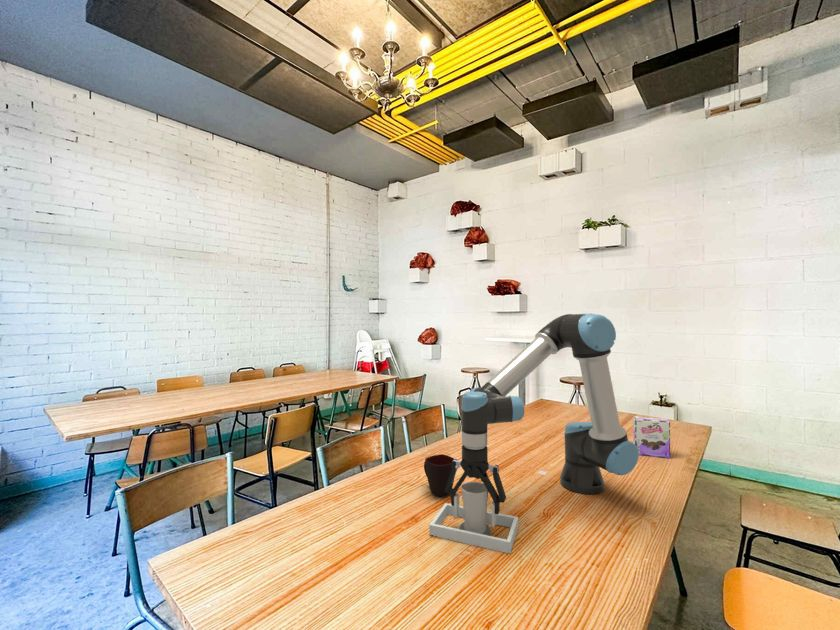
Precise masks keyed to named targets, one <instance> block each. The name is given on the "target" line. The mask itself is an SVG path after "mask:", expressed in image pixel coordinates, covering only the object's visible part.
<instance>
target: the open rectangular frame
mask: <svg viewBox="0 0 840 630" xmlns="http://www.w3.org/2000/svg"><path fill="white" fill-rule="evenodd" d="M447 516H453V517H454V506H452V505H451V503H447V502H445V503H444V504H443V505H442V507H441V508H440V509H439V511H438V512H437V514H436V515H435V516H434V518H433V519H432V521H431V522H430V523H429V524H428V525H429V528H428V529H429V535H428V536H431V535H433V536H432V537H435V536H438V537H437V538H439V537H441V538H440V539H444V538H445V539H444V540H448V539H449V540H448V541H453V542H457V541H458V542H457V543H461V542H462V543H461V544H465V543H466V545H470V544H471V546H474V545H475V547H478V546H479V548H484V549H487V550H492V551H495V552H496V551H498V552H500V553H506V554H508V555H509V554H511V552H512V549H513V546H514V542H515V539H516V536H517V533H518V530H519V517H518V516H515V515H508V514H505V513H504V514H503V513H500V512H499V514H496V524H495V526H502V527H505V528H506V527H507V528H510V530H509V533H508V536H507V539H506V538H501V537H497V536H494V535H493V536H492V535H489V536H488V535H483V534H479V533H474V532H470V531H465V530H460V528H455V527H449V526H445V525H440V524H442V523H443V522H444V520H445V519H446V517H447ZM458 518H463V519H464V509H463V505H459V516H458ZM486 524H492V511H488V510H487V518H486Z"/></svg>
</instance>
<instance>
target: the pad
mask: <svg viewBox="0 0 840 630" xmlns="http://www.w3.org/2000/svg"><path fill="white" fill-rule="evenodd" d="M464 523H465V521H463V522H462V523H461V524H460V526H459V529H460V530H465V525H464ZM491 530H492V529H491V527H490V525H489V523H486V531H485V532H484V533H481V534H483V535H488V536H491V533H492V532H491ZM465 531H466V530H465Z"/></svg>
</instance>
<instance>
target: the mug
mask: <svg viewBox="0 0 840 630" xmlns="http://www.w3.org/2000/svg"><path fill="white" fill-rule="evenodd" d="M454 459H455V458H454V457H452V456H450V455H447V454H434V455H430V456H428V457H426V458H425V460H424V462H423V470H424V473H425V476H426V478H427V483H428V486H429V487H428V488H429V490H430V492H431V494H432V495H433V496H434V497H437V498H439V499H440V498H445V497H448V496H449V495H451V494H450V493H446V492H445V488H446V485H447V482H448V479H449V476H450V472H451V469H452V468H451V463H452V461H453V460H454ZM454 483H455V480H454V481H453V484H452V487H451V488H454Z"/></svg>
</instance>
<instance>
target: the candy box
mask: <svg viewBox="0 0 840 630" xmlns="http://www.w3.org/2000/svg"><path fill="white" fill-rule="evenodd" d="M632 439H633V441H632V442H633V443H634V444H635V445H636V446H637V448H638V452H639V456H643V457H644V456H647V457H655V458H660V459H661V458H663V459H671V422H670V420H669V419H668V418H661V417H649V416H647V417H646V416H637V415H633V437H632Z"/></svg>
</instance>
